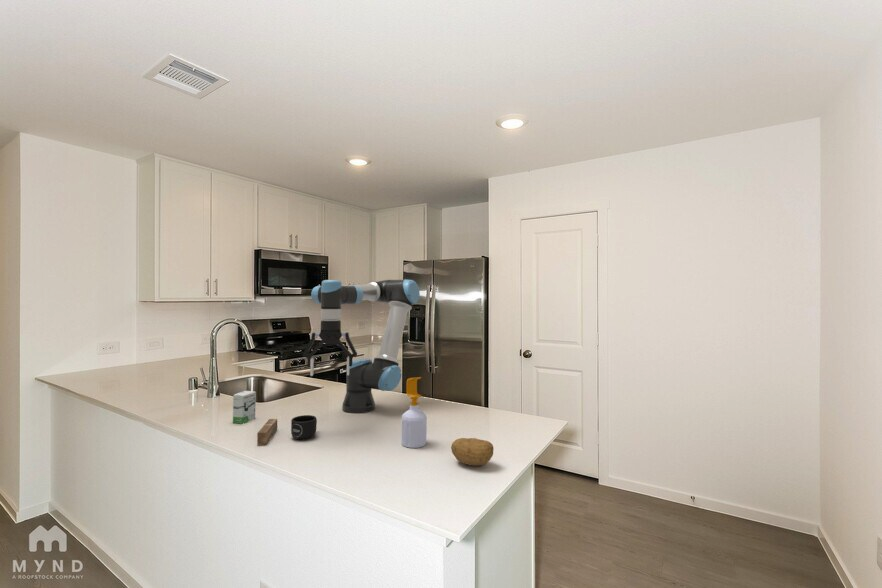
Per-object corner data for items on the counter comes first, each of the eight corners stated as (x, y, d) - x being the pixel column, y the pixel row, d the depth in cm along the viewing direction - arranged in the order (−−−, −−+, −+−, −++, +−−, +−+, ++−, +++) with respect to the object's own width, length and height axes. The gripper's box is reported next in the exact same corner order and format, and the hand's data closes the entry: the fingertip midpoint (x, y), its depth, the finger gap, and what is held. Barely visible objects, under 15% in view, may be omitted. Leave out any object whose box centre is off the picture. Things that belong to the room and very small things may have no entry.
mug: (306, 443, 148) (306, 423, 148) (285, 439, 151) (286, 420, 151) (325, 432, 160) (326, 414, 160) (306, 429, 163) (306, 411, 163)
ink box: (242, 424, 168) (242, 395, 168) (232, 423, 169) (232, 394, 169) (256, 418, 177) (256, 390, 177) (246, 417, 178) (246, 390, 178)
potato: (456, 455, 139) (456, 431, 139) (496, 462, 134) (497, 437, 134) (446, 466, 130) (446, 441, 130) (489, 474, 124) (489, 448, 124)
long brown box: (277, 430, 161) (277, 418, 161) (266, 445, 146) (266, 431, 146) (269, 430, 161) (269, 418, 161) (257, 445, 145) (257, 432, 145)
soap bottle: (407, 450, 143) (408, 380, 143) (397, 441, 151) (398, 375, 151) (430, 446, 147) (431, 377, 147) (419, 437, 155) (420, 373, 155)
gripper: (364, 319, 163) (363, 372, 163) (299, 319, 159) (298, 373, 159) (363, 320, 155) (362, 376, 155) (295, 320, 152) (294, 377, 152)
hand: (330, 375), depth 157 cm, fingers open, 13 cm apart
